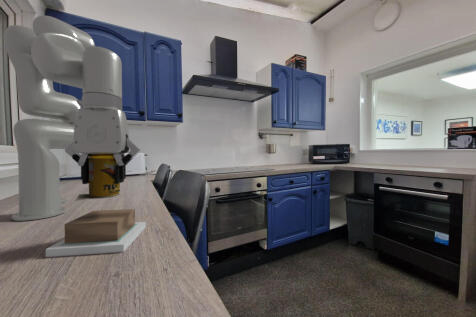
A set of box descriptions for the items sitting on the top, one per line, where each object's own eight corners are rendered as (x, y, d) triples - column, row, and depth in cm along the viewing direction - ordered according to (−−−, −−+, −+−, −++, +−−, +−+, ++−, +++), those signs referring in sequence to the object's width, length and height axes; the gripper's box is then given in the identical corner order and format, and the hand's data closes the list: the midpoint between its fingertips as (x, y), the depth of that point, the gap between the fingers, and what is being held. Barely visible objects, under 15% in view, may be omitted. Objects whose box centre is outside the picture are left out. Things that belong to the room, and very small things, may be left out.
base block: (93, 226, 50) (93, 210, 50) (135, 224, 51) (134, 209, 51) (64, 243, 40) (64, 224, 40) (117, 240, 42) (117, 221, 41)
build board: (89, 230, 52) (89, 224, 52) (145, 227, 54) (145, 221, 54) (45, 257, 38) (45, 248, 38) (123, 251, 40) (123, 244, 40)
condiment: (122, 197, 45) (122, 144, 45) (74, 201, 40) (74, 143, 40) (120, 192, 51) (120, 146, 51) (79, 195, 46) (78, 145, 46)
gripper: (48, 99, 40) (49, 186, 41) (137, 102, 43) (137, 184, 43) (73, 108, 48) (73, 181, 48) (147, 110, 50) (148, 180, 51)
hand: (104, 182), depth 46 cm, fingers closed on condiment, 6 cm apart
